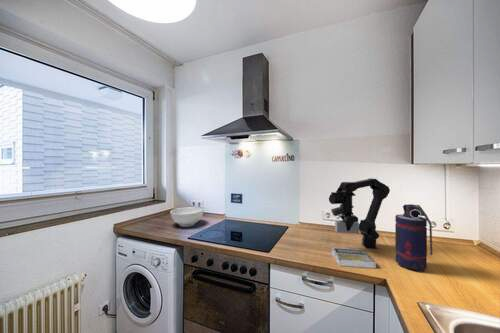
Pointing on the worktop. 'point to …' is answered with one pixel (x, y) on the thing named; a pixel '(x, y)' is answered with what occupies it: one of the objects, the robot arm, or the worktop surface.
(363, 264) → the rack
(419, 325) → the worktop surface
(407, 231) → the grenade
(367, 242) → the robot arm
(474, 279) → the worktop surface
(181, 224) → the decorative bowl
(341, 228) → the panel
